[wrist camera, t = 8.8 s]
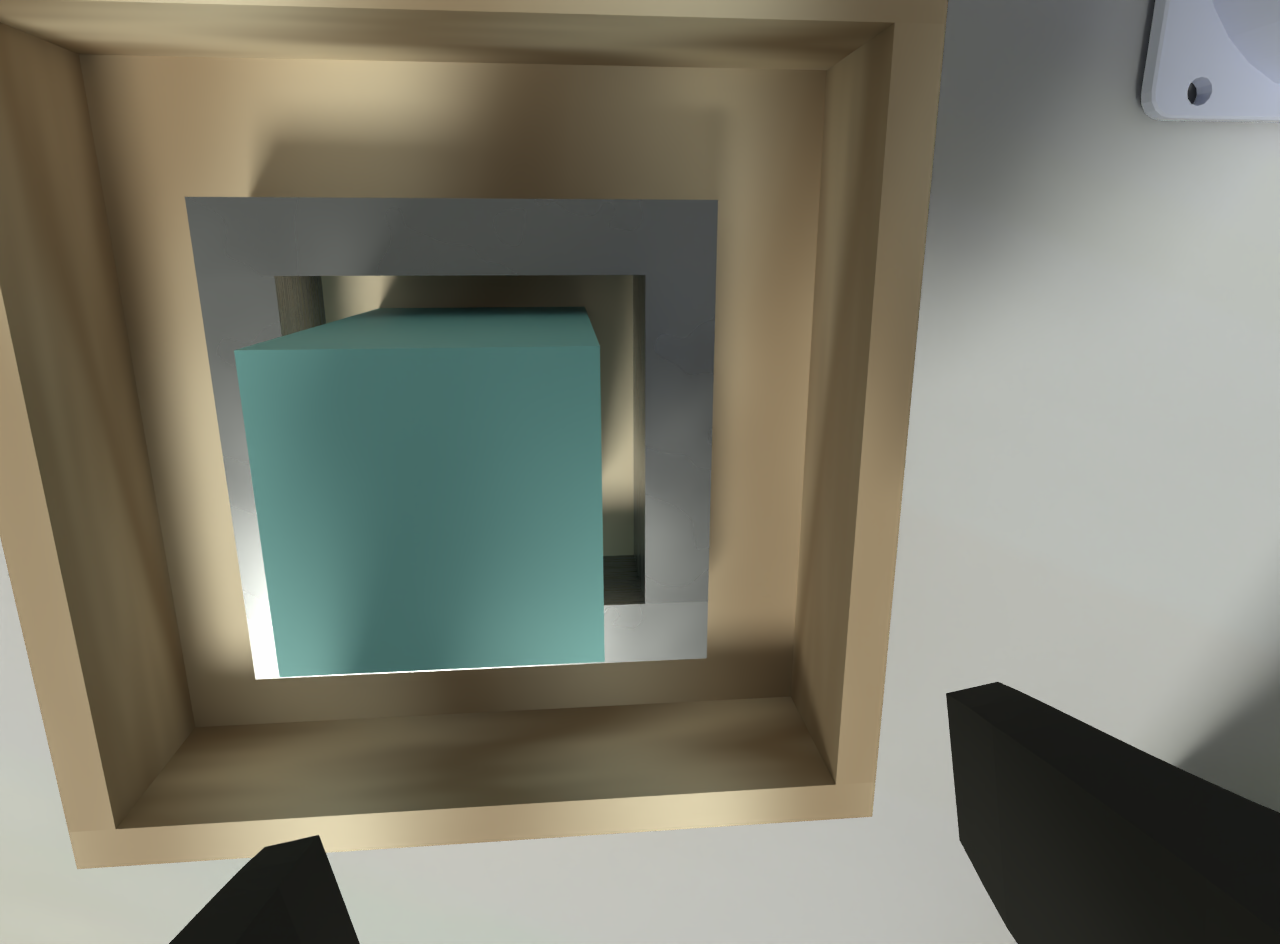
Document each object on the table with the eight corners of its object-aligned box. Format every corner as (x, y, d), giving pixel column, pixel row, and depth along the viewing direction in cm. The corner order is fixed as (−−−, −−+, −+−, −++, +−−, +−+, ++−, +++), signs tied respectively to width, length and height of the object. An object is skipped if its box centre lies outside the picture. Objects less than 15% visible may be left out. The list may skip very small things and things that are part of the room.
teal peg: (584, 306, 16) (599, 345, 9) (588, 498, 17) (604, 661, 10) (379, 308, 15) (234, 350, 9) (396, 504, 16) (279, 677, 10)
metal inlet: (694, 207, 15) (718, 199, 13) (687, 603, 18) (706, 658, 15) (246, 206, 15) (185, 196, 12) (299, 618, 17) (255, 679, 14)
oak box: (855, 35, 16) (951, -36, 12) (811, 705, 20) (872, 817, 16) (49, 14, 14) (-142, -74, 10) (180, 739, 18) (76, 868, 14)
